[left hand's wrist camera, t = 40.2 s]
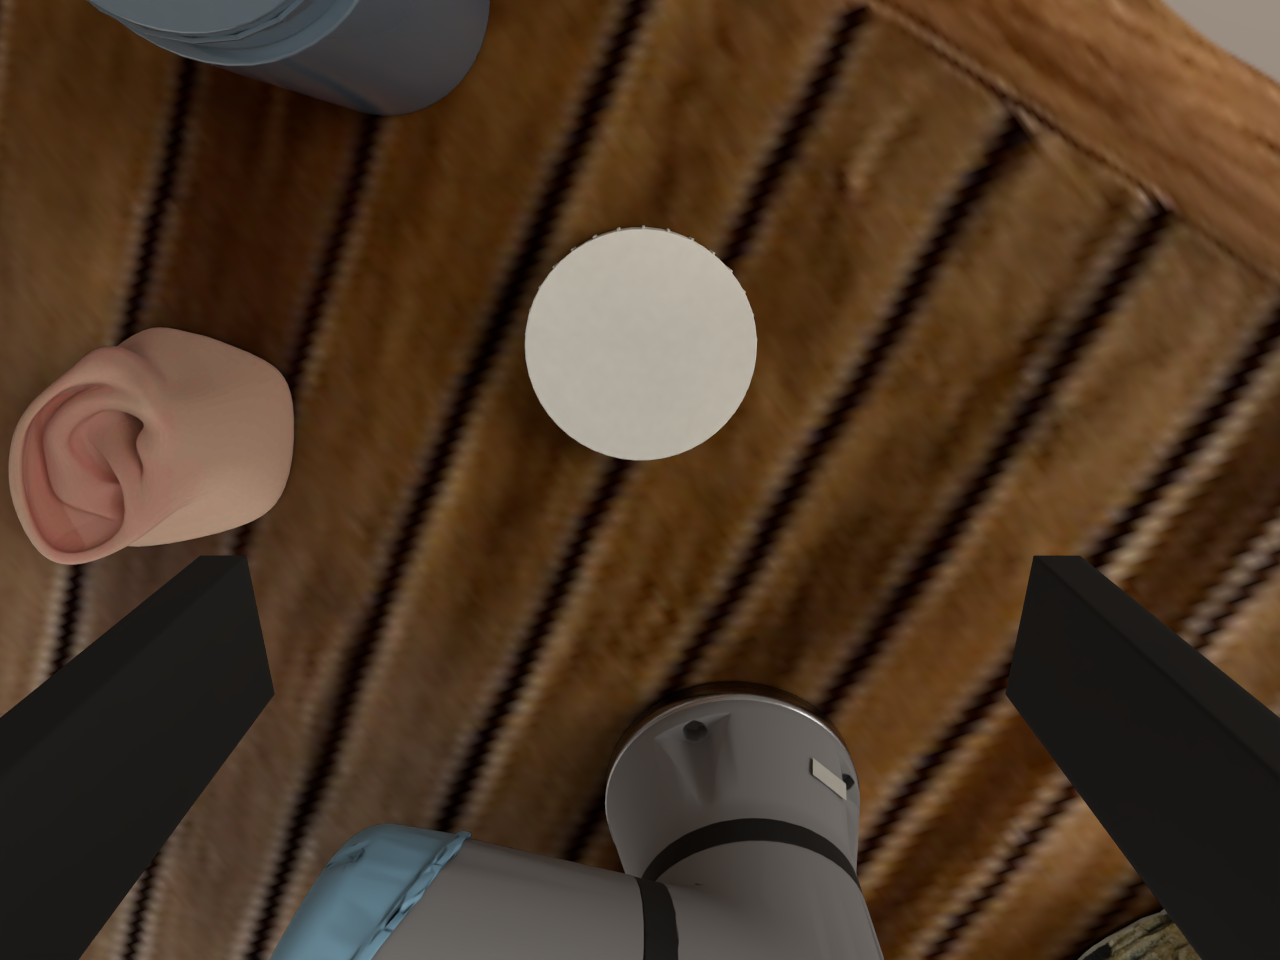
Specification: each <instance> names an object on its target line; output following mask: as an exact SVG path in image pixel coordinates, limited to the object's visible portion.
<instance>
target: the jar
mask: <svg viewBox="0 0 1280 960" xmlns="http://www.w3.org/2000/svg"><path fill="white" fill-rule="evenodd" d="M87 1H88V2H89V3H91V4H92V5H93V6H94V7H96V8H97V9H98V11H101V12H103V13H105V14H107V15H109V16H111V17H113V18H115V19H116V20H117V21H119V22H120V23H122V24H123V25H124V26H126V27H127V28H128V29H130V30H131V31H133V32H134V33H135V34H137V35H139V36H140V37H142V38H144V39H146V40H147V41H149V42H151V43H153V44H155V45H156V46H158V47H160V48H162V49H165V50H167V51H170V52H172V53H174V54H177V55H179V56H182V57H184V58H188V59H191V60H194V61H197V62H201V63H204V64H207V65H210V66H213V67H217V68H220V69H223V70H226V71H229V72H233V73H236V74H239V75H242V76H246V77H249V78H252V79H255V80H258V81H262V82H265V83H268V84H271V85H274V86H278V87H281V88H284V89H287V90H291V91H294V92H297V93H300V94H303V95H307V96H310V97H313V98H316V99H319V100H323V101H326V102H329V103H332V104H336V105H339V106H342V107H345V108H348V109H352V110H355V111H359V112H363V113H366V114H374V115H400V114H406V113H411V112H414V111H417V110H420V109H423V108H425V107H427V106H429V105H431V104H433V103H435V102H437V101H438V100H440V99H441V98H443V97H444V96H446V95H447V94H448V93H449V92H450V91H451V90H452V89H454V88H455V87H456V86H457V85H458V84H459V83H460V81H461V80H462V79H463V78H464V76H465V75H466V74H467V72H468V71H469V69H470V68H471V66H472V64H473V62H474V61H475V59H476V57H477V55H478V52H479V50H480V48H481V45H482V42H483V39H484V35H485V32H486V28H487V22H488V16H489V6H490V0H87Z"/></svg>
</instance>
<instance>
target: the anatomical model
mask: <svg viewBox="0 0 1280 960" xmlns="http://www.w3.org/2000/svg"><path fill="white" fill-rule="evenodd" d="M293 443H294V414H293V403H292V397H291V393H290V390H289V387H288V384H287V382H286V380H285V379H284V377H283V376H282V374H281V373H280V372H279V371H278V370H277V369H276V368H275V367H274V366H272V365H271V364H269V363H268V362H266V361H265V360H263V359H261V358H259V357H257V356H255V355H253V354H251V353H249V352H246V351H244V350H241V349H239V348H236V347H233V346H231V345H228V344H226V343H223V342H221V341H218V340H215V339H212V338H209V337H207V336H203V335H199V334H194V333H190V332H186V331H181V330H177V329H172V328H162V327H158V328H150V329H146V330H143V331H141V332H139V333H137V334H135V335H133V336H131V337H130V338H128V339H127V340H125V341H124V342H122V343H121V344H119V345H118V346H104V347H100V348H97V349H95V350H93V351H91V352H90V353H88V354H87V355H86V356H84V357H83V358H82V359H81V360H80V361H78V362H77V363H76V364H75V365H74V366H73V367H72V368H70V369H69V370H68V371H67V372H66V373H64V374H63V375H62V376H61V377H59V378H58V379H57V380H56V381H54V382H53V383H52V384H51V385H49V386H48V387H47V388H46V389H45V390H44V391H43V392H42V393H40V394H39V395H38V396H37V397H36V398H35V399H34V400H33V402H32V403H31V404H30V405H29V406H28V408H27V409H26V410H25V412H24V413H23V415H22V416H21V418H20V420H19V422H18V424H17V426H16V428H15V431H14V434H13V437H12V442H11V448H10V454H9V485H10V492H11V496H12V500H13V504H14V507H15V510H16V513H17V515H18V518H19V520H20V522H21V524H22V527H23V529H24V531H25V533H26V534H27V536H28V537H29V539H30V541H31V542H32V544H33V545H34V546H35V547H36V549H37V550H38V551H39V552H40V553H41V554H42V555H44V556H45V557H46V558H48V559H50V560H52V561H54V562H57V563H60V564H81V563H87V562H90V561H94V560H97V559H100V558H102V557H105V556H108V555H110V554H112V553H114V552H117V551H119V550H121V549H123V548H125V547H126V546H152V545H160V544H168V543H174V542H179V541H185V540H189V539H194V538H199V537H203V536H207V535H211V534H216V533H220V532H223V531H226V530H230V529H233V528H236V527H239V526H241V525H244V524H247V523H249V522H251V521H253V520H255V519H257V518H259V517H261V516H262V515H264V514H265V513H266V512H268V511H269V510H270V509H271V508H272V507H273V506H274V505H275V504H276V502H277V501H278V499H279V498H280V496H281V495H282V492H283V490H284V488H285V486H286V482H287V479H288V476H289V473H290V468H291V462H292V456H293Z"/></svg>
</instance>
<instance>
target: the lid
mask: <svg viewBox="0 0 1280 960" xmlns="http://www.w3.org/2000/svg"><path fill="white" fill-rule="evenodd" d="M693 240H694V239H693V238H692V237H689V238H687V237H685V236H683V235H680V234H678V233H675V232H671V231H670V230H669V229H668V228H666V230H664V229H658V228H650V227H645V225H642V227H630V228H624V229H620V227H618V228H617V230H614V231H610V232H607V233H604V234H601V235H599V236H597V234H596V235H594V236H593V238H592V239H590V240H588V241H586V242H585V243H583V244H582V245H580V246H579V247H577V248H576V246H575V247H574V248H573V249H571V251H572V252H570V253H569V254H568V255H567V256H566V257H565V258H563V259H562V260H561V261H560V262H559V263H556V264H555V265H554V266H553V267H552V268H553V270H552V271H551V272H550V273H549V274H548V276H547V277H546V279H545V280H544V282H543V283H542V284H541V285H540V286H539V287H538V288H539V290H538V292H537V294H536V296H535V298H534V300H533V303H532V306H531V308H530V309H529V311H530V312H529V315H528V321H527V326H526V332H525V356H526V357H525V358H526V364H527V369H528V373H529V377H530V380H531V383H532V386H533V389H534V391H535V393H536V395H537V397H538V399H539V401H540V403H541V404H542V406H543V407H544V409H545V410H546V412H547V413H548V415H549V416H550V417H551V418H552V419H553V421H554V422H555V423H556V424H557V425H558V426H559V427H560V428H561V429H562V430H563V431H564V432H566V433H567V434H568V435H569V436H570V437H572V438H573V439H575V440H576V441H578V442H579V443H580V444H582V445H584V446H586V447H588V448H590V449H592V450H594V451H597V452H599V453H602V454H605V455H607V456H612V457H616V458H620V459H628V460H654V459H661V458H666V457H670V456H673V455H677V454H680V453H682V452H685V451H687V450H690V449H692V448H694V447H695V446H697V445H699V444H701V443H703V442H704V441H706V440H707V439H708V438H710V437H711V436H712V435H714V434H715V433H716V432H717V431H718V430H719V429H720V428H721V427H722V426H723V425H725V424H726V423H727V421H728V420H729V419H730V418H731V416H732V415H733V414H734V413H735V411H736V410H737V408H738V407H739V405H740V403H741V402H742V400H743V398H744V396H745V394H746V392H747V389H748V387H749V385H750V382H751V378H752V375H753V372H754V366H755V361H756V348H757V338H756V328H755V322H754V318H753V316H754V314H753V313H752V310H751V307H750V305H749V302H748V299H747V297H746V295H745V293H746V292H745V291H744V290H743V289H742V287H741V286H740V284H739V282H738V281H737V279H736V278H735V277H734V275H733V274H732V272H733V271H732V270H731V269H730V268H728V267H726V266H725V265H724V264H723V263H722V262H721V261H720V259H718V258H717V257H716V256H715V255H714V254H715V253H714V252H713V251H712V250H709V251H708V250H707V249H706V248H704V247H703V246H702V245H700V244H698V243H696V242H695V241H693Z"/></svg>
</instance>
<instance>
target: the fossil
mask: <svg viewBox="0 0 1280 960" xmlns="http://www.w3.org/2000/svg"><path fill="white" fill-rule="evenodd" d="M1078 960H1201V958H1200V957H1199V955H1198V954H1197V953H1196V951H1195V950H1194V949H1193V947H1192V946H1191V945H1190V943H1189V942H1188V941H1187V939H1186V938H1185V936H1184V935H1183V934H1182V932H1181V931H1180V930H1179V928H1178V927H1177V926H1176V924H1175V923H1174V922H1173V920H1172V919H1171V918H1170V916H1169V915H1168V913H1167V912H1166V911H1165V909H1163V910H1162V911H1161V912H1160V913H1157V914H1153V915H1150V916H1147V917H1144V918H1141V919H1140V920H1138V921H1136V922H1134V923H1132V924H1130V925H1129V926H1127V927H1125V928H1123V929H1121V930H1119V931H1118V932H1116V933H1114V934H1112V935H1110V936H1108V937H1107V938H1105V939H1104V940H1102V941H1101V942H1099V943H1098V944H1096V945H1094V946H1093V947H1092V948H1090V949H1089V950H1088V951H1086V952H1085V953H1084V954H1083V955H1082V956H1081V957H1080V958H1079V959H1078Z"/></svg>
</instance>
